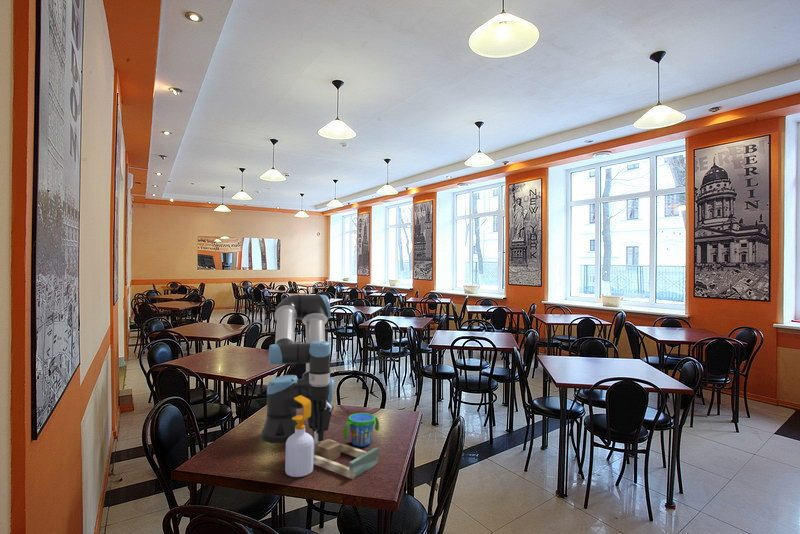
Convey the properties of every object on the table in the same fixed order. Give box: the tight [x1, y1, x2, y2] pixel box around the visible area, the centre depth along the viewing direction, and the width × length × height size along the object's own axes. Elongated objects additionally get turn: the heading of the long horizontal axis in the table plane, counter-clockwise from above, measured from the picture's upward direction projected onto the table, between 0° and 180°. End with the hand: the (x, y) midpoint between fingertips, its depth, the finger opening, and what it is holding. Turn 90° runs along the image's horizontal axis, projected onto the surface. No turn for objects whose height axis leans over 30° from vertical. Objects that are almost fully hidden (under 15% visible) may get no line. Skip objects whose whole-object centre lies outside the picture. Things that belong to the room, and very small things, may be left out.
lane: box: [313, 438, 380, 480], centre depth 144 cm, size 24×14×5 cm, turn 56°
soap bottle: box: [284, 395, 315, 478], centre depth 136 cm, size 9×9×25 cm
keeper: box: [314, 438, 342, 461], centre depth 147 cm, size 7×6×4 cm
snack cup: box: [342, 412, 380, 447], centre depth 159 cm, size 16×10×10 cm
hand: (318, 449), depth 149 cm, fingers closed
